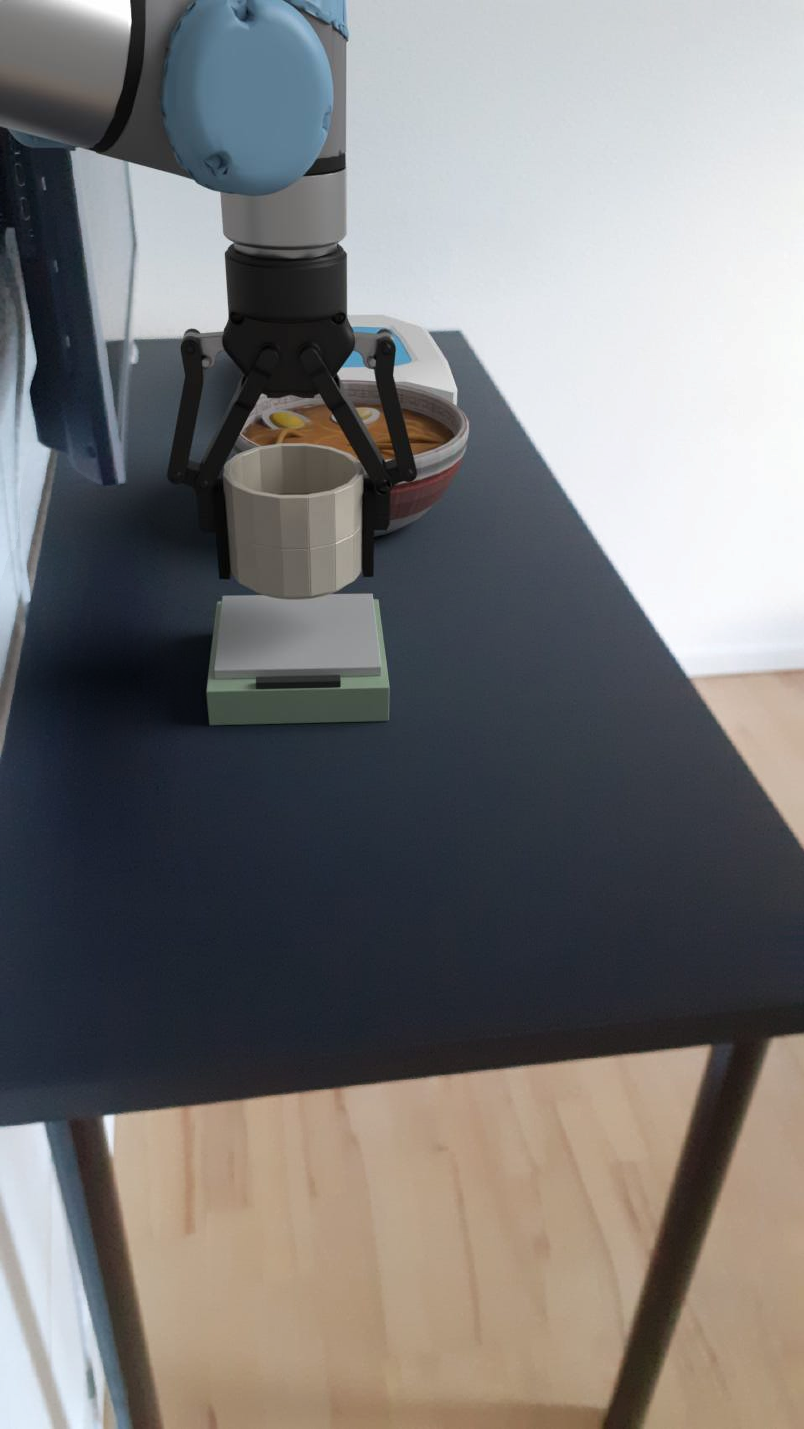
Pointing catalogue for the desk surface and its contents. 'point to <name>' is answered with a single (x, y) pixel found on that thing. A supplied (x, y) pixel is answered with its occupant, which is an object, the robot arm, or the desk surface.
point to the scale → (297, 661)
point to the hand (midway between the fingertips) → (296, 569)
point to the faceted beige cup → (294, 519)
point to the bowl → (428, 422)
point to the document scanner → (404, 357)
